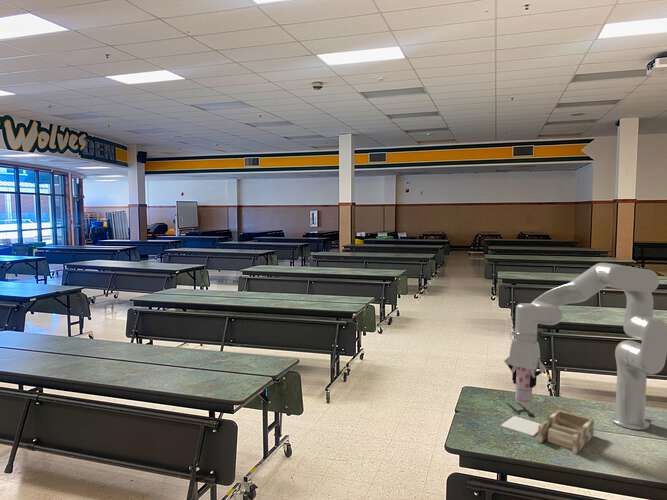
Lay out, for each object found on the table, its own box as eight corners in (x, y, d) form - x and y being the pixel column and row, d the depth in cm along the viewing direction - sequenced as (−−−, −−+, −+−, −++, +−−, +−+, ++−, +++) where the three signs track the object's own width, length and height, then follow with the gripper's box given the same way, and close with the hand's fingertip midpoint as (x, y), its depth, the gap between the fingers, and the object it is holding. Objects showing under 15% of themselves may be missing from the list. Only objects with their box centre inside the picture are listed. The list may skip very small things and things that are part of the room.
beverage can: (512, 401, 176) (513, 361, 175) (519, 397, 180) (521, 358, 179) (527, 405, 171) (528, 365, 171) (534, 401, 175) (535, 362, 174)
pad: (513, 417, 185) (513, 415, 185) (545, 426, 176) (545, 425, 176) (500, 426, 176) (500, 425, 176) (532, 436, 168) (533, 435, 168)
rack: (557, 425, 177) (557, 409, 177) (593, 435, 169) (593, 419, 168) (537, 442, 164) (538, 425, 163) (576, 454, 155) (576, 436, 155)
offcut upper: (553, 430, 168) (554, 423, 168) (578, 437, 163) (578, 430, 163) (547, 436, 164) (548, 429, 164) (572, 443, 158) (572, 436, 158)
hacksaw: (535, 418, 185) (535, 414, 184) (509, 418, 184) (509, 414, 184) (511, 395, 209) (511, 392, 209) (488, 395, 209) (488, 392, 208)
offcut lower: (553, 437, 169) (554, 430, 168) (577, 444, 163) (578, 437, 163) (547, 442, 164) (547, 435, 164) (572, 450, 159) (572, 443, 159)
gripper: (499, 334, 177) (497, 381, 178) (546, 343, 165) (544, 393, 167) (507, 331, 183) (505, 377, 184) (553, 339, 171) (551, 388, 172)
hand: (524, 384), depth 175 cm, fingers closed on beverage can, 5 cm apart
